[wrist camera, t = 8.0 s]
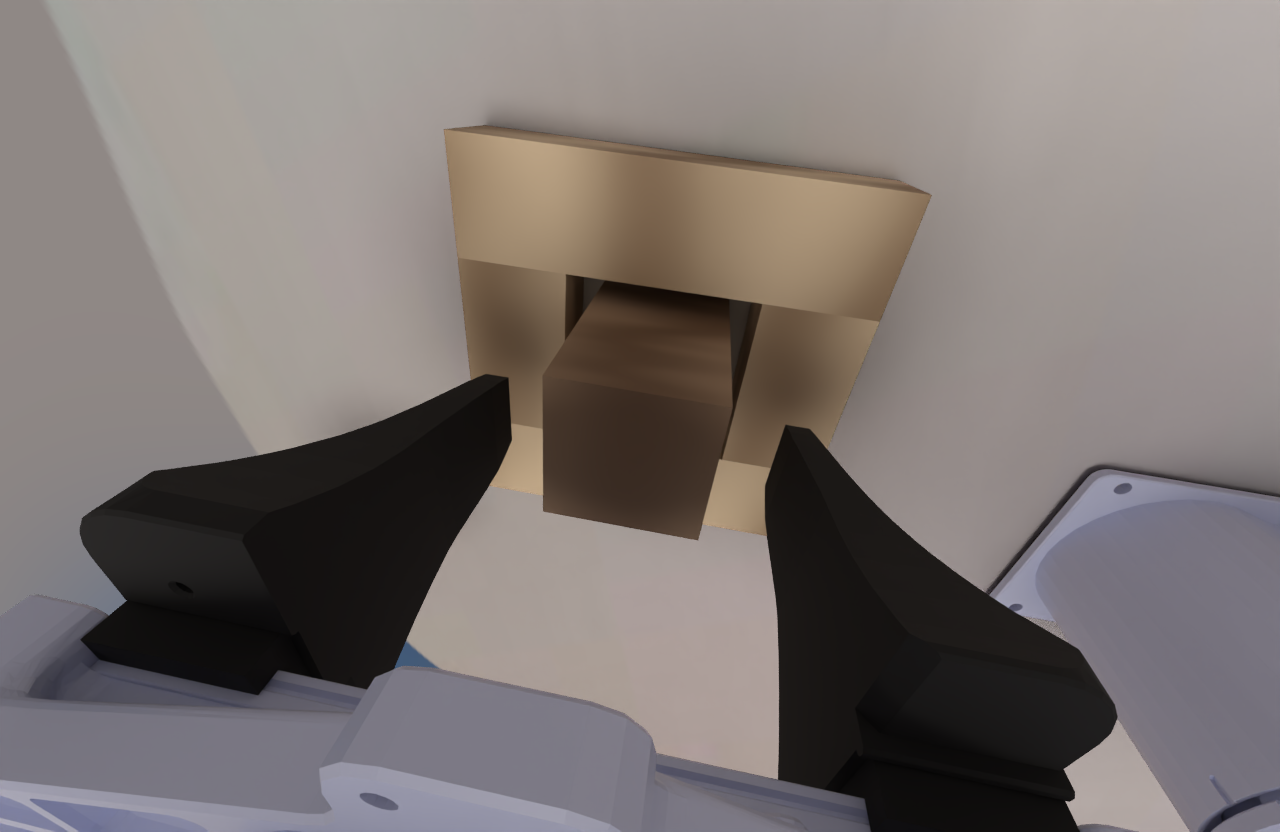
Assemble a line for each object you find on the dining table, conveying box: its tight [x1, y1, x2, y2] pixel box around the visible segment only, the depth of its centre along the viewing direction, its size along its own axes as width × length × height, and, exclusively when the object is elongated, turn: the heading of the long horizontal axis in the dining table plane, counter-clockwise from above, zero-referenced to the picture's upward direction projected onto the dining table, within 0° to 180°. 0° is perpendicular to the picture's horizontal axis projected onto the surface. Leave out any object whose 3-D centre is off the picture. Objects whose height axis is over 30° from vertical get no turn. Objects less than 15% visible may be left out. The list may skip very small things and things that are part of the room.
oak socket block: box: [444, 125, 932, 536], centre depth 16 cm, size 12×12×2 cm
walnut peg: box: [542, 280, 733, 540], centre depth 14 cm, size 4×4×7 cm
